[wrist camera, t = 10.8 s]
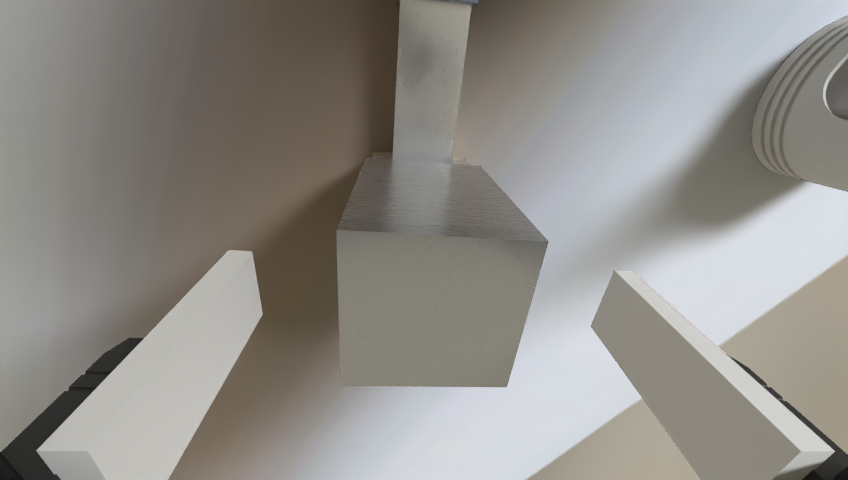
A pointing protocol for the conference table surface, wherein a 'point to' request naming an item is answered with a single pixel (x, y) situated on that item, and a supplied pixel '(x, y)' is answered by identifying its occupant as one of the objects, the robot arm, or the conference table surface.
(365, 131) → the conference table surface
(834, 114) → the engine component
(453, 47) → the blue-grey beige mallet
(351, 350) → the grey textured cube
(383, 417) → the conference table surface
